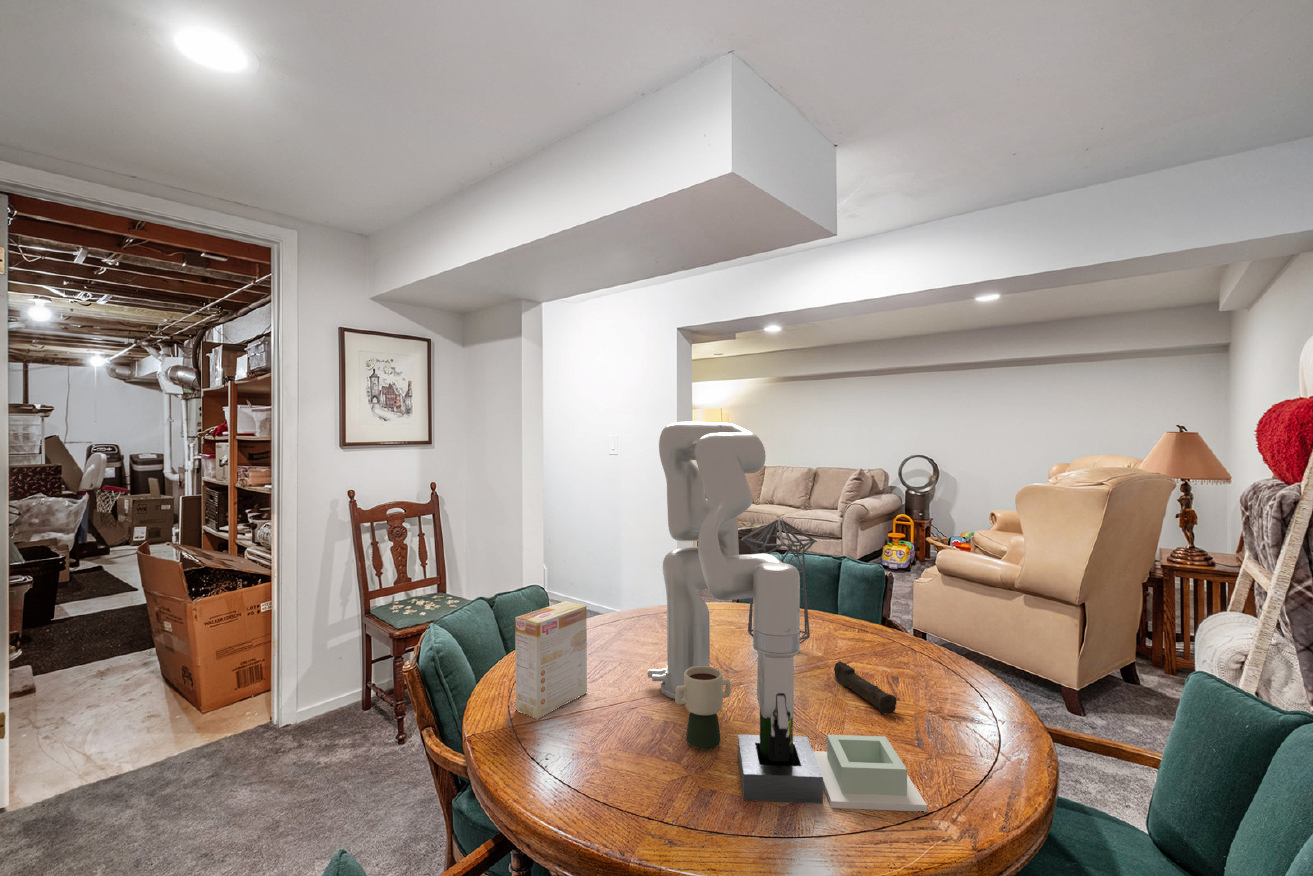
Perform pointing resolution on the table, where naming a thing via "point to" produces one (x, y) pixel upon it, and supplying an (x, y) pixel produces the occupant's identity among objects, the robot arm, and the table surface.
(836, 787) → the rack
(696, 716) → the character mug
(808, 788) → the socket block
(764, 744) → the beer can
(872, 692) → the hand tool
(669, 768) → the table surface
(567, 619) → the coffeecake box
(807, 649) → the table surface
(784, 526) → the geometric lantern
